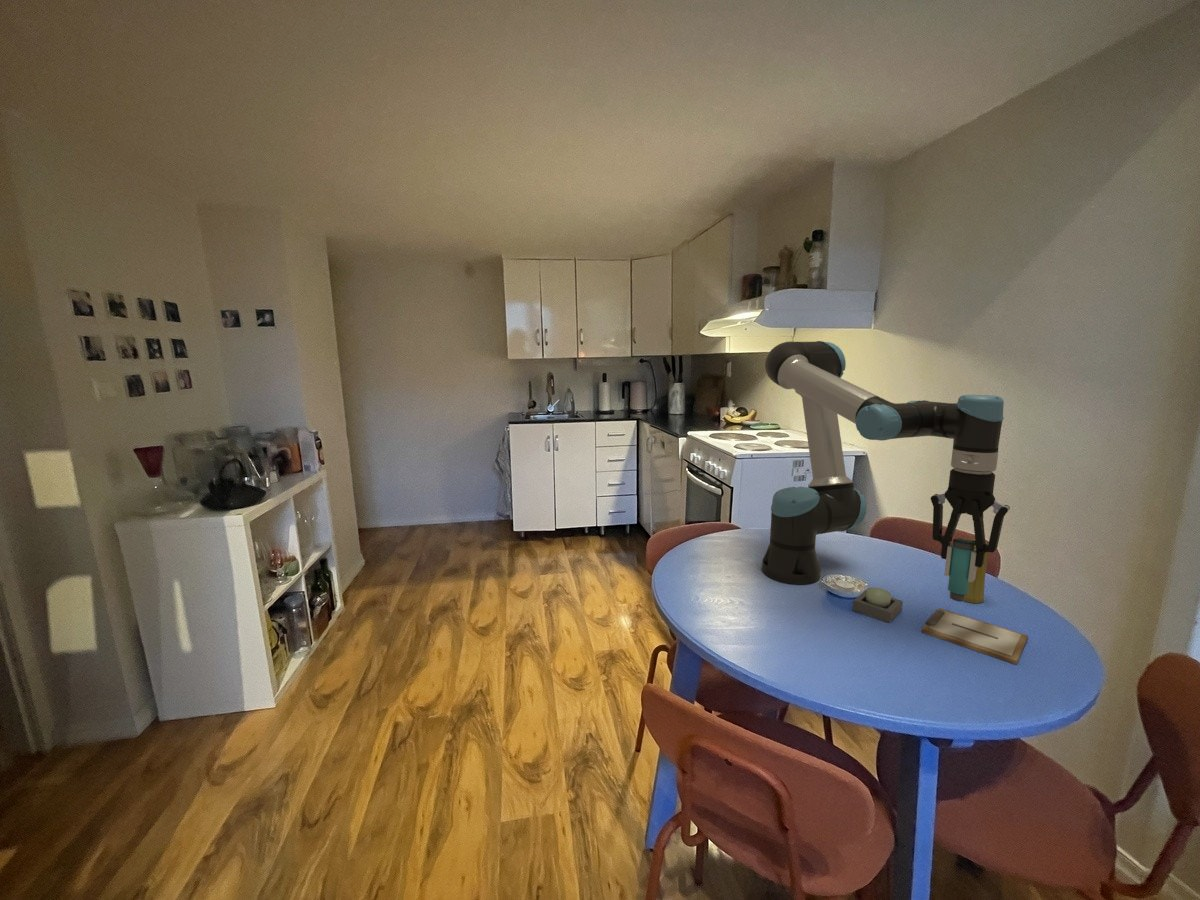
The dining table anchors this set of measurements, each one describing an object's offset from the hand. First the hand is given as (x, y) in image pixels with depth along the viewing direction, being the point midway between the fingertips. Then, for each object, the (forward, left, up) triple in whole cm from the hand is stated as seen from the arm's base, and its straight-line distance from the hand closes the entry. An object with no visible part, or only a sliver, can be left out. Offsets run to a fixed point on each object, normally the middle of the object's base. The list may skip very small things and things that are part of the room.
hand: (959, 576), depth 107 cm
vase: (-1, +20, -12) cm, 23 cm away
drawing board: (+4, 0, -12) cm, 13 cm away
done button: (-14, -3, -10) cm, 18 cm away
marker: (0, 0, -5) cm, 5 cm away
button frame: (-14, -3, -12) cm, 19 cm away
